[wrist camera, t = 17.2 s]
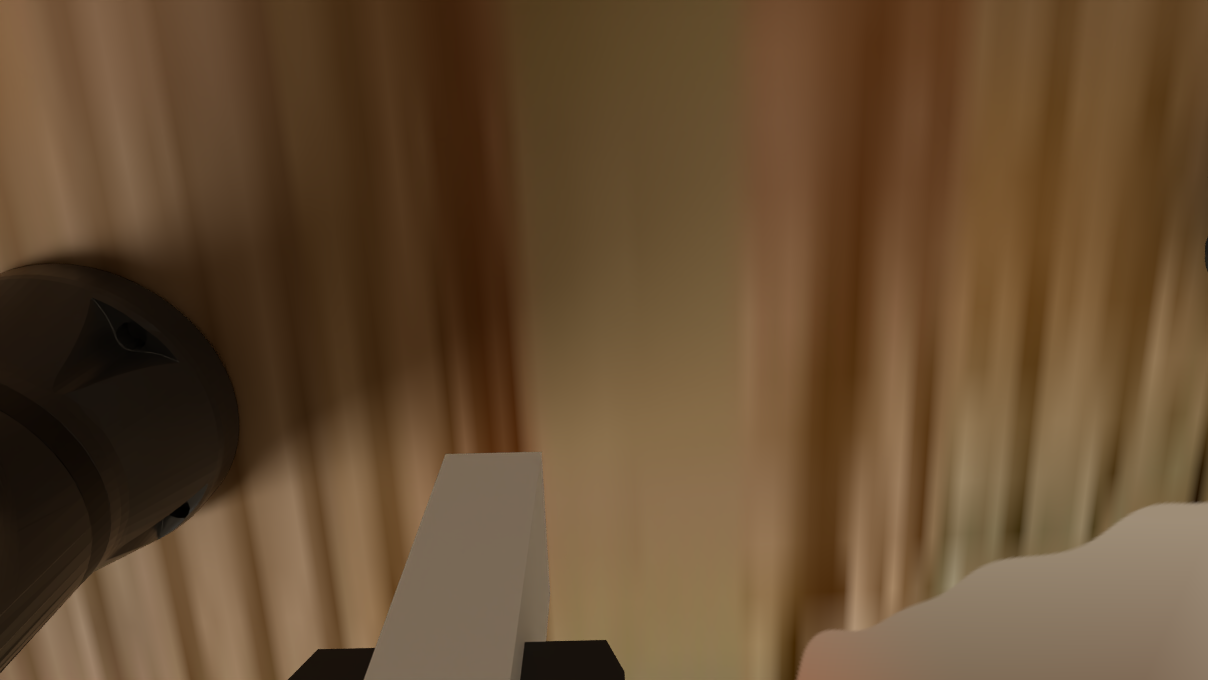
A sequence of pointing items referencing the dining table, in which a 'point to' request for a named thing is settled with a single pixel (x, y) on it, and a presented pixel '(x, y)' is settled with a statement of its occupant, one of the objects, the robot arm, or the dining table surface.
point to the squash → (1206, 254)
